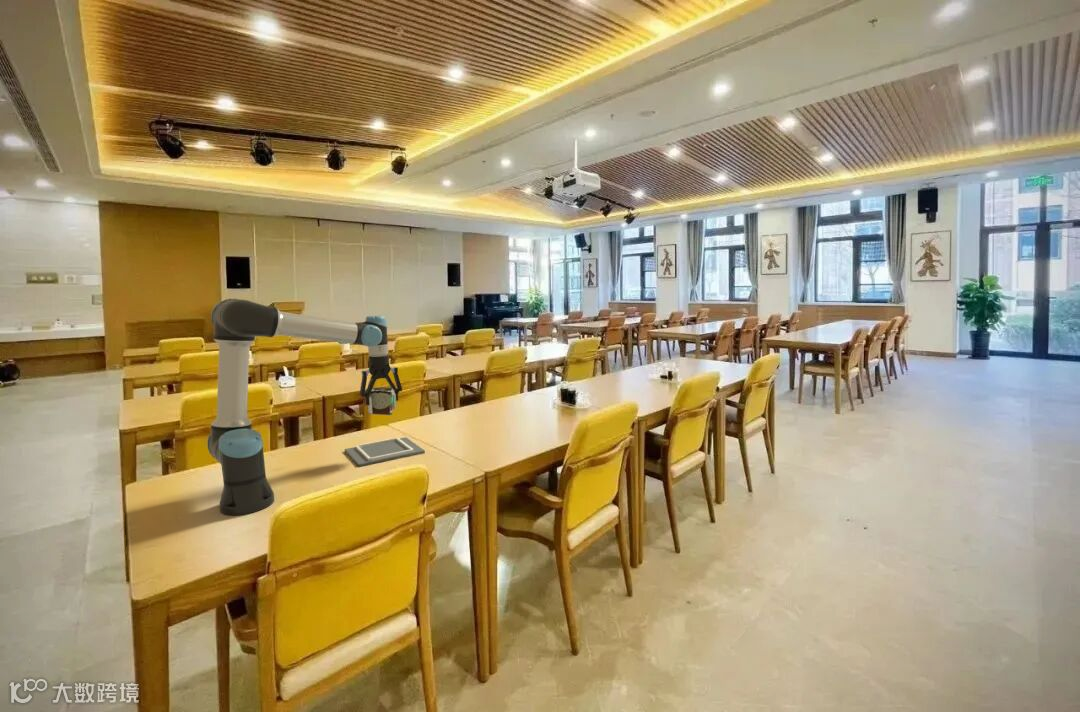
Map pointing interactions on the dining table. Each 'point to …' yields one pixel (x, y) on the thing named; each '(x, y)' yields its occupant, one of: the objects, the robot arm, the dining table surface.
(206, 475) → the dining table surface
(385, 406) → the food container
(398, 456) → the dock board
